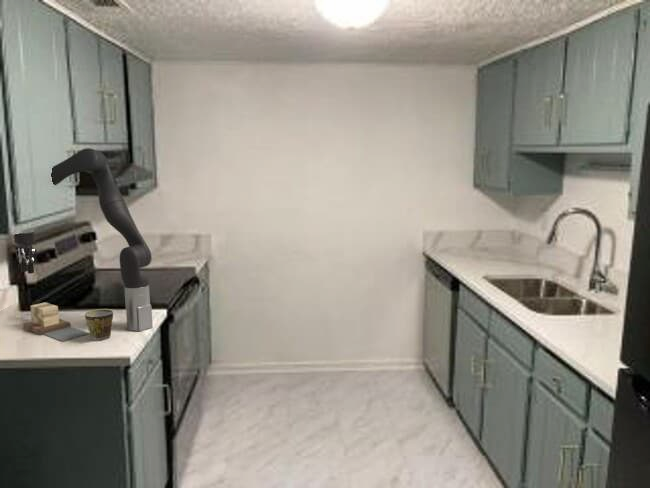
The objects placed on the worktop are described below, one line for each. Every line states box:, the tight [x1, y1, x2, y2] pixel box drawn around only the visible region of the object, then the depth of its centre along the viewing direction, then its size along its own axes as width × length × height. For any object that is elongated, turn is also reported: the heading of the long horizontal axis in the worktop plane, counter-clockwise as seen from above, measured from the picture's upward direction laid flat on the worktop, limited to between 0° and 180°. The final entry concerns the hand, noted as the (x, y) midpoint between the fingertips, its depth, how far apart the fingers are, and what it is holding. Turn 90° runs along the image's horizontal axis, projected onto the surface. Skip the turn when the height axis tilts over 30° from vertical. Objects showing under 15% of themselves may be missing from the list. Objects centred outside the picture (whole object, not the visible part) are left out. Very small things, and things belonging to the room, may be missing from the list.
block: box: [29, 301, 60, 327], centre depth 221 cm, size 10×6×7 cm, turn 53°
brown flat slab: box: [22, 318, 72, 336], centre depth 221 cm, size 14×12×2 cm
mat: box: [43, 326, 90, 342], centre depth 214 cm, size 14×11×1 cm
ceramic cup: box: [84, 308, 114, 342], centre depth 207 cm, size 13×10×10 cm
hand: (27, 272), depth 225 cm, fingers open, 5 cm apart
